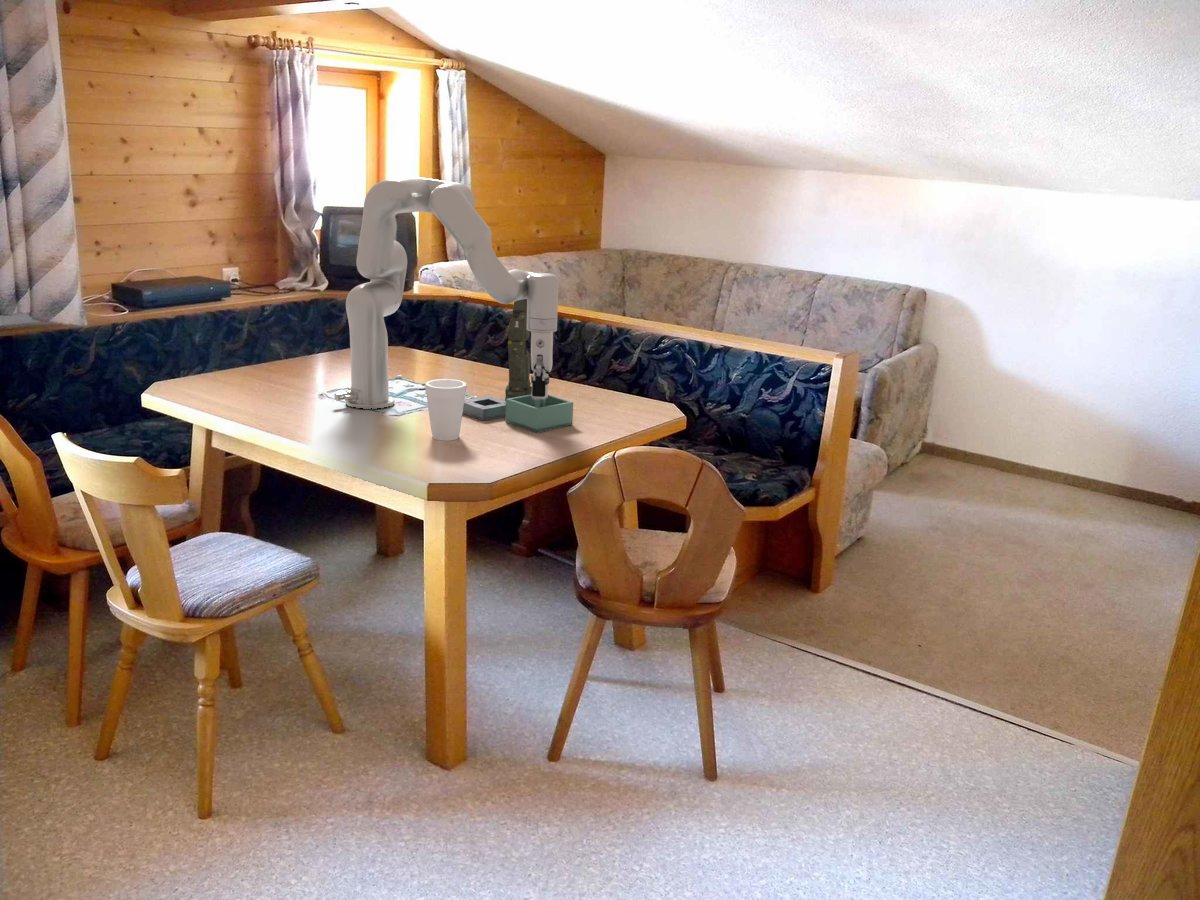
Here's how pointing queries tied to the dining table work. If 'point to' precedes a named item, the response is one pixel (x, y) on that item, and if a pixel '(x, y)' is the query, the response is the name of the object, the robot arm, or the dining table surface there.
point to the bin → (539, 413)
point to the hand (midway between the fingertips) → (539, 391)
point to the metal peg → (541, 401)
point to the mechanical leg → (518, 353)
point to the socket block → (485, 408)
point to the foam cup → (445, 407)
